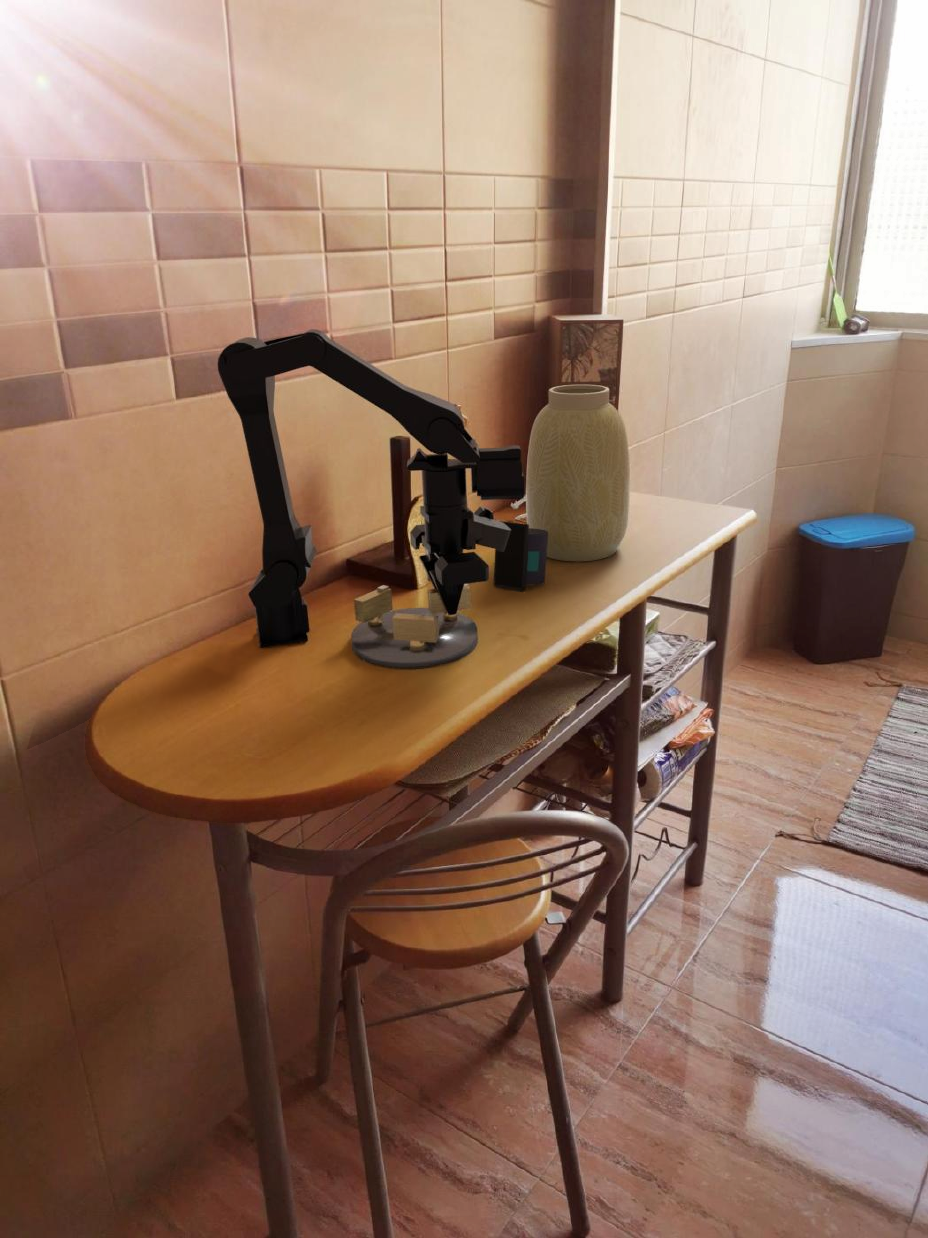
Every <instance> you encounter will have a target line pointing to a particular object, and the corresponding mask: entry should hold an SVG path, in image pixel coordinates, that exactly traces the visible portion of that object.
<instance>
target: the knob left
mask: <svg viewBox="0 0 928 1238" xmlns="http://www.w3.org/2000/svg"><path fill="white" fill-rule="evenodd" d="M353 603H354V604H353V605H354V606H353V607H354V616H355V621H357V622H360V623H361V622H363V623H365V622H367V621H368V627H371V628H378V627H381V626H382V625H383V624H382V614H384V613H387V612H389V611H393V610H394V609H393V594H392V588H390V587H389V585H384V584H383V585H381V586H378V587H376V589H375V590H372V591H371V592H368V593H365V594H364V595H361V596H358V597H356V598H354V599H353Z"/></svg>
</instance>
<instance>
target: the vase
mask: <svg viewBox="0 0 928 1238" xmlns="http://www.w3.org/2000/svg"><path fill="white" fill-rule="evenodd" d="M621 415H622V414H620V412H619V410H618V409H616V407H615V406H614V405H613V404H611V403H610V388H609V387H606V386H603V385H597V384H566V385H565V384H564V385H558V386H554V387H551V388H549V389H548V403H547V404H546V405H545V406H544V407H543V408H542V409H541V410H540V411H539V413H538V414H537V415H536V416H535V417H536V418H535V419H534V422H533V424H532V428H531V431H530V435H529V443H528V449H527V451H528V452H527V457H526V458H527V460H526V461H527V462H526V475H525V476H526V477H525V478H526V480H525V481H526V482H525V495H526V501H525V510H526V512H525V514H526V516H527V517H526V524H529V528H533V529H541V530H546V531H547V532H548V543H547V557H546V558H550V559H552V560H557V561H564V562H591V561H598V560H601V559H602V560H603V559H605V558H608V557H611V556H612V555H613V554H615V553H616V552H617V550H618V549H619V547H620V545H621V543H622V541H623V540H624V538H625V535H626V533H627V529H628V525H629V517H630V516H629V514H630V500H631V494H630V493H631V476H630V475H631V474H630V473H631V471H630V468H631V467H630V451H629V444H628V443H629V441H628V436H627V430H626V425H625V422H624V420H623V417H622V416H621Z"/></svg>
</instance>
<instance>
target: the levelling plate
mask: <svg viewBox="0 0 928 1238" xmlns="http://www.w3.org/2000/svg"><path fill="white" fill-rule="evenodd" d="M396 613H401V614H417V615H426V614H427V613H430V611H429V607H410V608H409V607H408V608H400V609H393V610H391V611H389V612H387V613H384V614H382V624H383V625H382V626H381V627H378V628H371V627H368V621H367V622H365V623H363V622H360V623H358V624H357V625H356V626H355V627H354V628H353V629H352V632H351V634H350V635H351V636H350V640H351V649H352V652H353V651H354V652H353V654H354V653H355V654H354V655H355V656H356V657H357V658H358V659H360V660H361V661H363V660H364V661H363V662H365V663H367V664H370V665H374V666H376V665H377V667H380V666H381V668H385V669H392V668H393V670H394V669H395V670H420V669H429V668H437V667H439V666H440V667H441V666H443V665H448V664H451V663H454V662H456V661H459V660H460V658H461V659H462V658H465V657H466V656H468V655H469V654H470V653H472V652H473V651H474V650H475V649H476V647H477V644H478V643H479V635H478V634H479V633H478V632H479V631H478V626H477V624H476V622H475V621H474V620H473V619H471V618H470V617H469V616H467V615H465V614H463V613H460V612H457V616H458V620H457V621H455V622H445V621H443V613H437V614H436V616H438V621H439V639H438V640H437V642H436V643H435V642H425V650H424V651H422V652H411V651H410V650H409V641H407V640H394V635H393V621H392V618H393V616H394V615H395V614H396ZM386 667H387V668H386Z"/></svg>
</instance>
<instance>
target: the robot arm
mask: <svg viewBox="0 0 928 1238" xmlns="http://www.w3.org/2000/svg"><path fill="white" fill-rule="evenodd" d="M306 367H311V368H313V369H315V370H317V371H318V372H320V373H321V374H323V375H325V376H327V377H328V378H330V379H332V380H333V381H335V382H336V383H338V384H339V385H342V386H343V387H345V388H347V389H348V390H349V391H351V392H353V393H354V394H356V395H357V396H359V397H361V398H362V399H364V400H366V401H367V402H369V403H371V404H372V405H374V406H376V407H377V408H379V409H380V410H382V411H383V412H385V413H387V414H389V415H390V416H391V417H392V418H393V419H395V420H396V421H397V422H398V423H399V424H400V426H401V427H403V429H404V430H405V431H406V432H407V433H408V434H409V435H410V436H412V437H413V438H414V439H415V440H416V441H417V442H418V443H419V444H421V446H423V447H424V448H425V449H426V450H427V451H429V452H431V453H430V454H427V453H425V451H423V449H422V448H420V447H418V448H417V449H416V452H415V453H414V454H413V455H412V456H411V457H410V458H408V460H407V462H406V463H407V464H406V469H407V471H409V472H414V471H415V472H416V471H421V481H422V498H423V499H422V500H423V502H422V504H423V505H420V507H419V510H420V515H421V516H422V517H423V523H424V524H415V526H414V527H413V528H412V529H411V531H410V532H409V533H410V535H409V536H410V537H409V538H410V545H411V546H412V548H413V549H414V550H415V551H417V550H420V547H421V546H422V547H423V548H424V554H422V555H419V556H418V558H419V560H420V562H421V565H422V566H423V568H424V570H425V572H426V574H427V577H428V579H429V581H430V583H431V584H432V586H433V589H437V590H438V592H439V595H440V597H441V599H442V602H443V604H444V606H445V608H446V611H447V613H448V615H455V614H456V613H458V611H457V609H458V605H459V602H460V598H461V594H462V590H463V587H464V584H468V585H469V584H475V583H482V582H483V583H484V582H487V581H488V580H490V567H489V564H488V563H487V562H486V561H485V560H484V559H483V558H482V557H481V556H480V555H478V554H477V552H475V551H472V550H477V546H482V547H485V548H489V549H494V550H495V549H496V551H500V552H504V550H505V547H506V544H507V541H508V538H509V535H510V532H511V529H510V528H509V527H508V526H506V525H505V524H504V523H503V522H500V521H501V520H499V519H497V518H495V519H494V512H493V511H492V510H491V509H490V508H487V507H484V506H478V508H477V509H476V510H475V511H474V512H473V511H472V510H471V509H470V508H469V507H468V496H467V495H468V494H467V491H468V490H467V470H466V469H470V477H471V478H470V481H471V483H470V484H471V493H472V494H475V493H476V496H477V497H479V498H480V501H493V500H496V501H497V500H518V499H520V500H521V499H523V497H524V496H525V475H524V471H523V463H522V449H521V447H520V446H519V445H518V444H517V445H508V446H503V447H483V448H479V444H478V443H477V442H476V439H475V438H473V437H472V435H471V434H470V433H469V432H468V431H467V429H466V428H465V421H464V417H463V414H462V411H461V410H460V409H459V407H457V406H456V405H455V404H453V403H451V402H450V401H448V400H445V399H442V398H441V397H437V396H435V395H433V394H430V393H427V392H424V391H421V390H419V389H418V390H417V389H415V388H413V387H412V388H411V387H409V386H407V385H405V384H403V383H402V382H400V381H398V380H397V379H395V378H394V377H392V376H391V375H389V374H388V373H386V372H384V371H382V370H381V369H379V367H376V366H374V365H373V364H371V363H370V362H368V361H366V360H365V359H363V358H361V357H360V356H359V355H357V354H355V353H354V352H352V351H350V349H348V348H346V347H344V346H343V345H341V344H340V343H338V342H336V341H335V340H333V339H332V338H330V337H329V336H328V334H326V333H325V332H324V331H322V330H319V329H308V330H306V331H304V332H303V333H302V332H301V333H298V334H293V335H288V336H283V337H278V338H274V339H269V340H265V341H263V340H261V339H258V338H255V337H254V336H253V337H252V336H251V337H248V336H247V337H243V338H240V339H238V340H236V341H234V342H232V343H230V344H229V345H228V346H226V347H225V348H223V350H222V352H221V353H220V354H219V356H218V359H217V371H218V375H219V376H220V379H221V381H222V382H221V383H222V385H223V387H224V389H225V392H226V395H227V397H228V399H229V401H230V402H231V404H232V406H233V408H234V409H235V411H236V413H237V414H238V417H239V418H240V422H241V425H242V431H243V434H244V441H245V444H246V448H247V455H248V459H249V463H250V467H251V472H252V477H253V481H254V486H255V491H256V494H257V501H258V505H259V509H260V514H261V515H260V516H261V519H262V524H263V533H262V534H263V535H262V549H261V555H262V558H261V559H262V569H261V570H260V571H259V573H258V575H257V577H256V578H255V580H254V583H253V584H252V586H251V587H250V590H249V591H248V597H249V599H250V601H251V602H252V605H253V606H254V610H255V611H254V612H255V619H256V626H257V627H256V635H257V639H258V643H259V648H261V649H265V648H267V649H268V648H272V647H279V646H287V645H293V644H299V643H306V642H308V641H309V636H308V633H309V632H310V631H311V630H310V622H309V612H308V605H307V601H306V600H305V598H302V594H301V593H302V592H301V590H300V588H302V586H303V585H305V582H306V579H307V578H308V575H309V572H310V570H311V568H312V564H313V563H314V560H315V558H316V554H317V552H318V550H317V549H316V548H317V547H315V545H314V541H313V536H312V535H313V533H312V529H313V528H312V525H311V524H307V525H304V526H301V523H300V522H299V521H298V519H297V517H296V515H295V512H294V507H293V502H292V496H291V492H290V487H289V481H288V477H287V476H288V475H287V471H286V467H285V461H284V456H283V451H282V448H281V447H282V446H281V443H280V437H279V431H278V427H277V422H276V418H275V417H276V416H275V413H274V411H275V410H274V409H275V408H274V406H275V404H274V403H275V388H276V376H278V375H282V374H285V373H288V372H291V371H294V370H295V371H296V370H298V369H301V368H306ZM448 455H450V456H451V457H453V458H448ZM476 545H477V546H476ZM464 550H466V551H470V550H471V551H470V552H464Z"/></svg>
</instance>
